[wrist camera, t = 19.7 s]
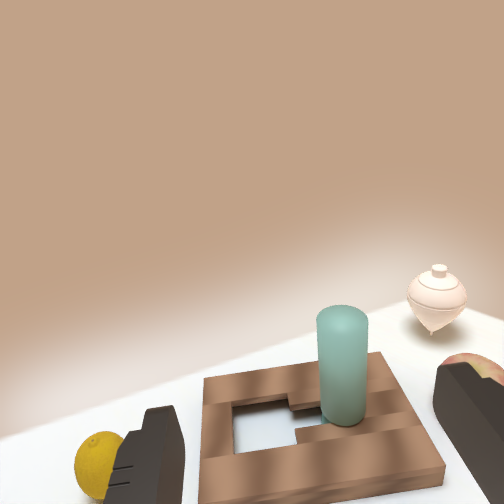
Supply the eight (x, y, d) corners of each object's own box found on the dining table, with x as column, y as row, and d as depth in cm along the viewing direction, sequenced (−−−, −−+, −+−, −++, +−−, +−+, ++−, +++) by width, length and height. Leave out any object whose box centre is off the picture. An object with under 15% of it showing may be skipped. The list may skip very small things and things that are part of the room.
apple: (421, 390, 47) (427, 342, 43) (484, 387, 46) (495, 338, 42) (448, 448, 40) (458, 396, 36) (523, 446, 39) (540, 392, 35)
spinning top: (392, 332, 57) (397, 265, 52) (425, 313, 60) (433, 248, 55) (437, 360, 51) (447, 288, 46) (471, 338, 54) (484, 267, 49)
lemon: (95, 469, 42) (72, 422, 39) (143, 458, 43) (124, 411, 39) (83, 521, 38) (55, 473, 34) (137, 508, 38) (115, 459, 34)
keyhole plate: (203, 523, 36) (197, 504, 35) (208, 395, 50) (203, 378, 49) (442, 485, 36) (445, 465, 35) (379, 369, 51) (380, 351, 49)
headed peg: (328, 450, 41) (323, 339, 34) (317, 413, 46) (311, 308, 38) (371, 443, 41) (376, 332, 34) (356, 407, 46) (358, 301, 39)
